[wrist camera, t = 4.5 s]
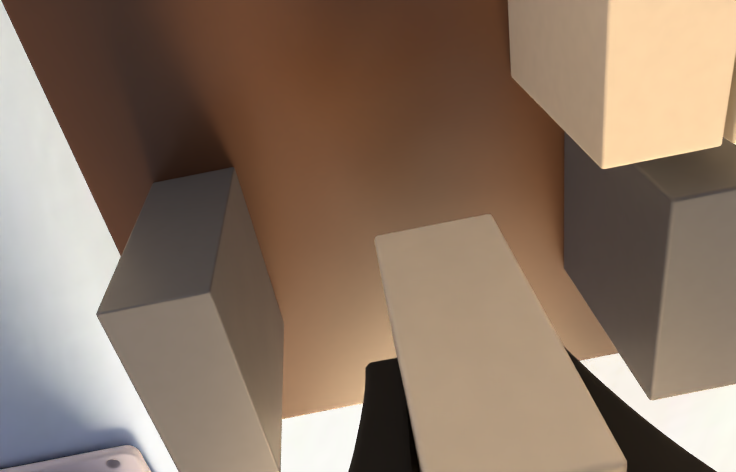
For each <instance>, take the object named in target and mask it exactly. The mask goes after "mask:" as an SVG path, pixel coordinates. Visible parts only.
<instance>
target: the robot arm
mask: <svg viewBox="0 0 736 472" xmlns="http://www.w3.org/2000/svg"><path fill="white" fill-rule="evenodd" d="M564 348H565V347H564ZM565 350H566V351H567V353H568V355H569V357H570V359H571V360H572V362H573V364H574V366H575V368H576V370H577V371H578V373H579V375H580V377H581V379H582V380H583V382H584V384H585V386H586V388H587V390H588V391H589V393H590V395H591V397H592V399H593V400H594V402H595V404H596V406H597V408H598V409H599V411H600V413H601V415H602V417H603V419H604V420H605V422H606V424H607V426H608V428H609V429H610V431H611V433H612V435H613V437H614V439H615V440H616V442H617V444H618V446H619V448H620V449H621V451H622V453H623V455H624V457H625V459H626V460H627V472H716V471H715V470H713V469H712V468H711V467H709V466H708V465H706V464H705V463H703V462H702V461H700V460H699V459H697V458H696V457H695V456H693V455H692V454H690V453H689V452H687V451H686V450H685V449H683V448H682V447H681V446H679V445H678V444H676V443H675V442H674V441H672V440H671V439H670V438H668V437H667V436H666V435H664V434H663V433H662V432H661V431H659V430H658V429H657V428H656V427H654V426H653V425H652V424H650V423H649V422H648V421H647V420H645V419H644V418H643V417H642V416H640V415H639V414H638V413H637V412H636V411H634V410H633V409H632V408H631V407H629V406H628V405H627V404H626V403H625V402H624V401H623V400H621V399H620V398H619V397H618V396H617V395H616V394H615V393H613V392H612V391H611V390H610V389H609V388H608V387H606V386H605V385H604V384H603V383H602V382H601V381H600V380H599V379H598V378H597V377H595V376H594V375H593V374H592V373H591V372H590V371H589V370H588V369H587V368H586V367H585V366H584V365H583V364H582V363H581V362H580V361H578V360H577V359H576V358H575V357H574V356H573V355H572V354H571V353H570V352H569V351H568V350H567V349H566V348H565ZM114 459H115V460H114ZM0 472H151V471H150V469H149V467H148V465H147V463H146V462H145V460H144V458H143V456H142V455H141V453H140V451H139V450H138V449H137V448H135V447H133V446H129V445H124V446H118V447H113V448H108V449H103V450H98V451H93V452H88V453H83V454H78V455H73V456H68V457H63V458H57V459H52V460H47V461H42V462H37V463H32V464H27V465H22V466H17V467H12V468H7V469H2V470H0ZM349 472H420V470H419V464H418V459H417V454H416V449H415V443H414V438H413V433H412V428H411V422H410V417H409V412H408V406H407V401H406V396H405V391H404V387H403V382H402V377H401V372H400V368H399V363H398V358H391V359H386V360H381V361H376V362H371V363H369V364H368V365H367V366H366V368H365V392H364V401H363V408H362V414H361V420H360V425H359V430H358V435H357V439H356V444H355V449H354V453H353V457H352V461H351V465H350V468H349Z"/></svg>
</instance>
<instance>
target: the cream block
mask: <svg viewBox="0 0 736 472" xmlns="http://www.w3.org/2000/svg"><path fill="white" fill-rule="evenodd" d="M508 16H509V39H510V62H511V76H512V78H513V79H514V80H515V81H516V82H517V83H518V84H519V85H520V86H521V87H522V88H523V89H524V90H525V91H526V92H527V93H528V94H529V95H530V96H531V97H532V98H533V99H534V100H535V101H536V102H537V103H538V104H539V105H540V106H541V107H542V108H543V109H544V110H545V111H546V112H547V113H548V115H549V116H550V117H551V118H552V119H553V120H554V121H555V122H556V123H557V124H558V125H559V126H560V127H561V128H562V129H563V130H564V131H565V132H566V133H567V134H568V135H569V136H570V137H571V138H572V139H573V140H574V141H575V142H576V143H577V144H578V145H579V146H580V147H581V148H582V149H583V150H584V151H585V152H586V153H587V154H588V155H589V156H590V157H591V158H592V159H593V160H594V161H595V162H596V163H597V164H598V165H599V167H600V168H602V169H607V168H612V167H617V166H622V165H627V164H632V163H637V162H642V161H647V160H652V159H657V158H662V157H668V156H673V155H678V154H683V153H688V152H693V151H698V150H703V149H708V148H713V147H718V146H721V144H722V139H723V137H724V138H726V139H727V140H729V141H730V142H732V143H736V0H508Z"/></svg>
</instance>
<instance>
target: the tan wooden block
mask: <svg viewBox="0 0 736 472" xmlns="http://www.w3.org/2000/svg"><path fill="white" fill-rule="evenodd" d="M375 247H376V252H377V257H378V262H379V268H380V273H381V278H382V283H383V288H384V294H385V299H386V304H387V309H388V315H389V320H390V325H391V330H392V335H393V341H394V346H395V351H396V356H397V358H398V363H399V368H400V372H401V377H402V382H403V387H404V391H405V396H406V401H407V406H408V412H409V417H410V422H411V428H412V433H413V438H414V443H415V449H416V454H417V459H418V464H419V470H420V472H627V460H626V459H625V457H624V455H623V453H622V451H621V449H620V448H619V446H618V444H617V442H616V440H615V439H614V437H613V435H612V433H611V431H610V429H609V428H608V426H607V424H606V422H605V420H604V419H603V417H602V415H601V413H600V411H599V409H598V408H597V406H596V404H595V402H594V400H593V399H592V397H591V395H590V393H589V391H588V390H587V388H586V386H585V384H584V382H583V380H582V379H581V377H580V375H579V373H578V371H577V370H576V368H575V366H574V364H573V362H572V360H571V359H570V357H569V355H568V353H567V351H566V350H565V348H564V346H563V344H562V342H561V340H560V339H559V337H558V335H557V333H556V331H555V330H554V328H553V326H552V324H551V322H550V320H549V319H548V317H547V315H546V313H545V311H544V310H543V308H542V306H541V304H540V302H539V300H538V299H537V297H536V295H535V293H534V291H533V290H532V288H531V286H530V284H529V282H528V280H527V279H526V277H525V275H524V273H523V271H522V270H521V268H520V266H519V264H518V262H517V260H516V259H515V257H514V255H513V253H512V251H511V250H510V248H509V246H508V244H507V242H506V241H505V239H504V237H503V235H502V233H501V231H500V230H499V228H498V226H497V224H496V222H495V221H494V219H493V217H492V215H490V214H486V215H481V216H476V217H470V218H465V219H460V220H455V221H450V222H445V223H440V224H435V225H430V226H425V227H420V228H414V229H409V230H404V231H399V232H394V233H389V234H384V235H379V236H376V237H375Z"/></svg>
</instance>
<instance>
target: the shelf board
mask: <svg viewBox="0 0 736 472" xmlns="http://www.w3.org/2000/svg"><path fill="white" fill-rule="evenodd" d="M1 1H2V3H3V5H4V7H5V9H6V11H7V13H8V16H9V18H10V20H11V22H12V24H13V26H14V28H15V31H16V33H17V35H18V37H19V39H20V41H21V43H22V46H23V48H24V50H25V52H26V54H27V56H28V58H29V61H30V63H31V65H32V67H33V69H34V71H35V73H36V76H37V78H38V80H39V82H40V84H41V86H42V88H43V90H44V93H45V95H46V97H47V99H48V101H49V103H50V105H51V108H52V110H53V112H54V114H55V116H56V118H57V120H58V123H59V125H60V127H61V129H62V131H63V133H64V135H65V138H66V140H67V142H68V144H69V146H70V148H71V150H72V153H73V155H74V157H75V159H76V161H77V163H78V165H79V168H80V170H81V172H82V174H83V176H84V178H85V180H86V183H87V185H88V187H89V189H90V191H91V193H92V195H93V198H94V200H95V202H96V204H97V206H98V208H99V210H100V212H101V215H102V217H103V219H104V221H105V223H106V225H107V227H108V230H109V232H110V234H111V236H112V238H113V240H114V242H115V245H116V247H117V249H118V251H119V253H120V255H122V253H123V251H124V249H125V246H126V244H127V242H128V239H129V237H130V235H131V232H132V230H133V228H134V226H135V223H136V221H137V219H138V216H139V214H140V212H141V209H142V207H143V205H144V203H145V200H146V198H147V196H148V193H149V191H150V189H151V186H152V184H153V183H155V182H160V181H165V180H170V179H175V178H180V177H185V176H190V175H195V174H200V173H206V172H211V171H216V170H221V169H226V168H231V167H234V168H235V171H236V174H237V177H238V180H239V183H240V186H241V189H242V193H243V196H244V199H245V202H246V205H247V208H248V212H249V215H250V218H251V221H252V224H253V227H254V231H255V234H256V237H257V240H258V243H259V246H260V250H261V253H262V256H263V259H264V262H265V265H266V268H267V272H268V275H269V278H270V281H271V284H272V287H273V291H274V294H275V297H276V300H277V303H278V306H279V310H280V313H281V316H282V319H283V322H284V345H283V388H282V419H285V418H290V417H295V416H300V415H305V414H310V413H315V412H321V411H326V410H331V409H336V408H341V407H346V406H351V405H356V404H361V403H363V401H364V392H365V368H366V366H367V365H368V364H369V363H371V362H376V361H381V360H386V359H391V358H397V356H396V351H395V346H394V341H393V335H392V330H391V325H390V320H389V315H388V309H387V304H386V299H385V294H384V288H383V283H382V278H381V273H380V268H379V262H378V257H377V252H376V247H375V237H376V236H379V235H384V234H389V233H394V232H399V231H404V230H409V229H414V228H420V227H425V226H430V225H435V224H440V223H445V222H450V221H455V220H460V219H465V218H470V217H476V216H481V215H486V214H490V215H492V217H493V219H494V221H495V222H496V224H497V226H498V228H499V230H500V231H501V233H502V235H503V237H504V239H505V241H506V242H507V244H508V246H509V248H510V250H511V251H512V253H513V255H514V257H515V259H516V260H517V262H518V264H519V266H520V268H521V270H522V271H523V273H524V275H525V277H526V279H527V280H528V282H529V284H530V286H531V288H532V290H533V291H534V293H535V295H536V297H537V299H538V300H539V302H540V304H541V306H542V308H543V310H544V311H545V313H546V315H547V317H548V319H549V320H550V322H551V324H552V326H553V328H554V330H555V331H556V333H557V335H558V337H559V339H560V340H561V342H562V344H563V346H564V347H565V348H566V349H567V350H568V351H569V352H570V353H571V354H572V355H573V356H574V357H575V358H576V359H577V360H578V361H580V360H585V359H590V358H595V357H600V356H605V355H610V354H615V353H619V352H618V351H617V349H616V348H615V346H614V344H613V343H612V341H611V340H610V338H609V337H608V335H607V334H606V332H605V331H604V329H603V328H602V326H601V325H600V323H599V321H598V320H597V318H596V317H595V315H594V314H593V312H592V311H591V309H590V308H589V306H588V305H587V303H586V302H585V300H584V298H583V297H582V295H581V294H580V292H579V291H578V289H577V288H576V286H575V285H574V283H573V282H572V280H571V279H570V277H569V275H568V274H567V272H566V271H565V269H564V144H565V131H564V130H563V129H562V128H561V127H560V126H559V125H558V124H557V123H556V122H555V121H554V120H553V119H552V118H551V117H550V116H549V115H548V113H547V112H546V111H545V110H544V109H543V108H542V107H541V106H540V105H539V104H538V103H537V102H536V101H535V100H534V99H533V98H532V97H531V96H530V95H529V94H528V93H527V92H526V91H525V90H524V89H523V88H522V87H521V86H520V85H519V84H518V83H517V82H516V81H515V80H514V79H513V78H512V76H511V62H510V39H509V16H508V0H1Z"/></svg>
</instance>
